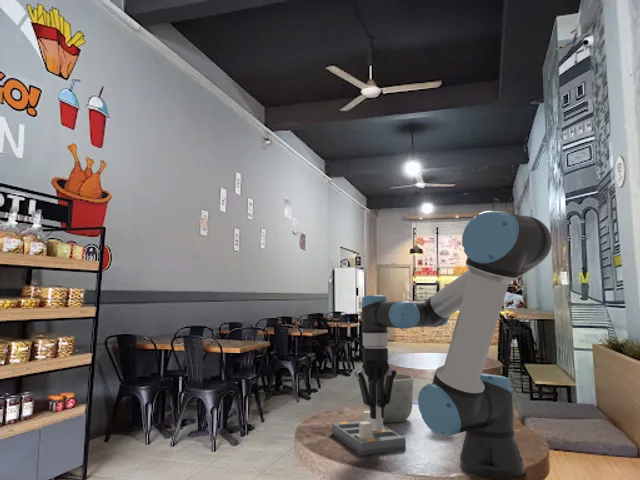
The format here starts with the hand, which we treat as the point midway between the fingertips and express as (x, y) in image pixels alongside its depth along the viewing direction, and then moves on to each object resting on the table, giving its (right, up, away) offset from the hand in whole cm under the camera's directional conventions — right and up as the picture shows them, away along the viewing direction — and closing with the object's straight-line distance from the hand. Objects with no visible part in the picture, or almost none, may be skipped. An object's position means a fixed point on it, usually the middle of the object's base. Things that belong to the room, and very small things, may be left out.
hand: (377, 429), depth 130 cm
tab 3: (+1, -4, +6) cm, 8 cm away
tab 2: (-4, -3, -1) cm, 5 cm away
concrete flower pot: (+9, -9, +30) cm, 33 cm away
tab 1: (-1, -5, +12) cm, 13 cm away
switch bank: (-3, -6, +5) cm, 8 cm away
